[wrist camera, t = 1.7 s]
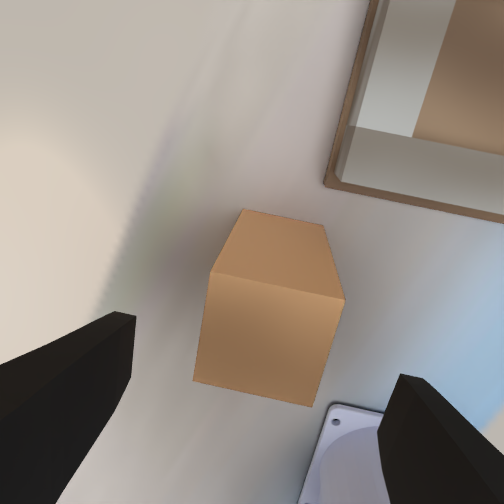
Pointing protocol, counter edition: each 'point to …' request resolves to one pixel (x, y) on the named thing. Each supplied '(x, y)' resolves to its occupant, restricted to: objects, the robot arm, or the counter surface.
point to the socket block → (426, 108)
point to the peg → (270, 310)
